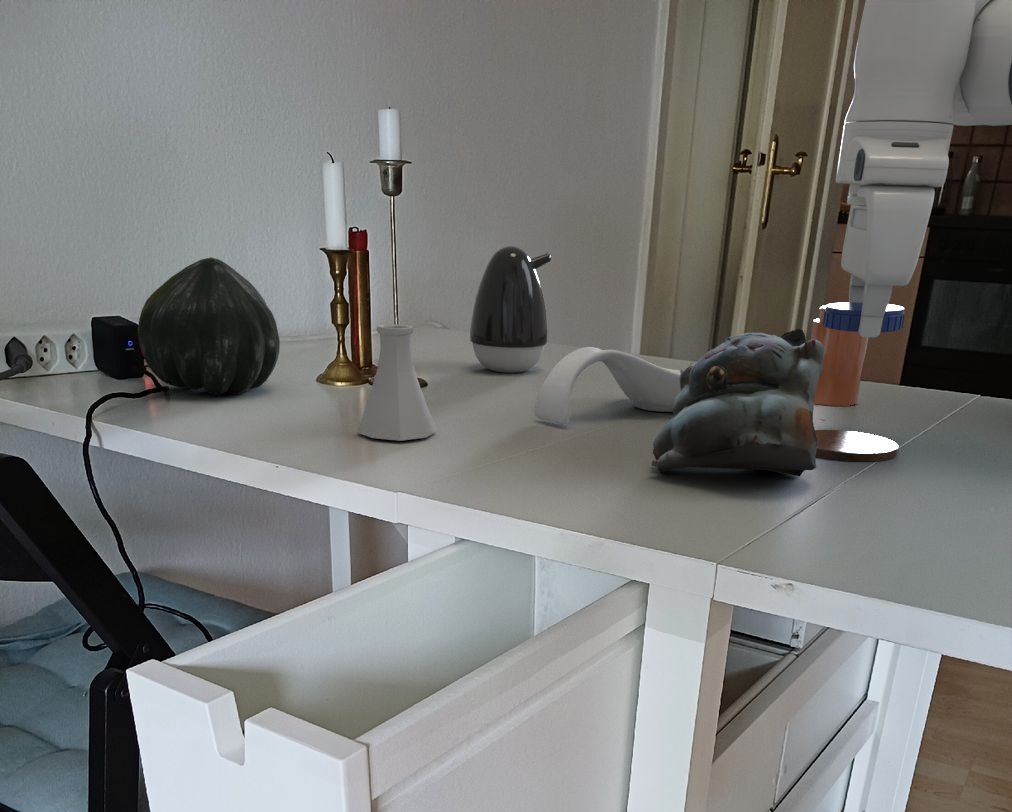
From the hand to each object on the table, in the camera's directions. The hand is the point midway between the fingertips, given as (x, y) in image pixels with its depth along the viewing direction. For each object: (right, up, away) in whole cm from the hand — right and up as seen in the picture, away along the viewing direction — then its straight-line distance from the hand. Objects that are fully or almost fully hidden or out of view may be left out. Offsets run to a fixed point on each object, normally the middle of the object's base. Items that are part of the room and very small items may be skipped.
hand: (861, 331), depth 93 cm
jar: (+6, +1, +28) cm, 28 cm away
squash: (-66, +1, +23) cm, 70 cm away
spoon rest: (-19, -3, +18) cm, 26 cm away
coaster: (0, -10, +5) cm, 11 cm away
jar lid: (0, +2, -1) cm, 2 cm away
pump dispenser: (-32, +9, +42) cm, 54 cm away
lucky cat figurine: (-13, -14, -4) cm, 20 cm away
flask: (-43, -9, +5) cm, 44 cm away
